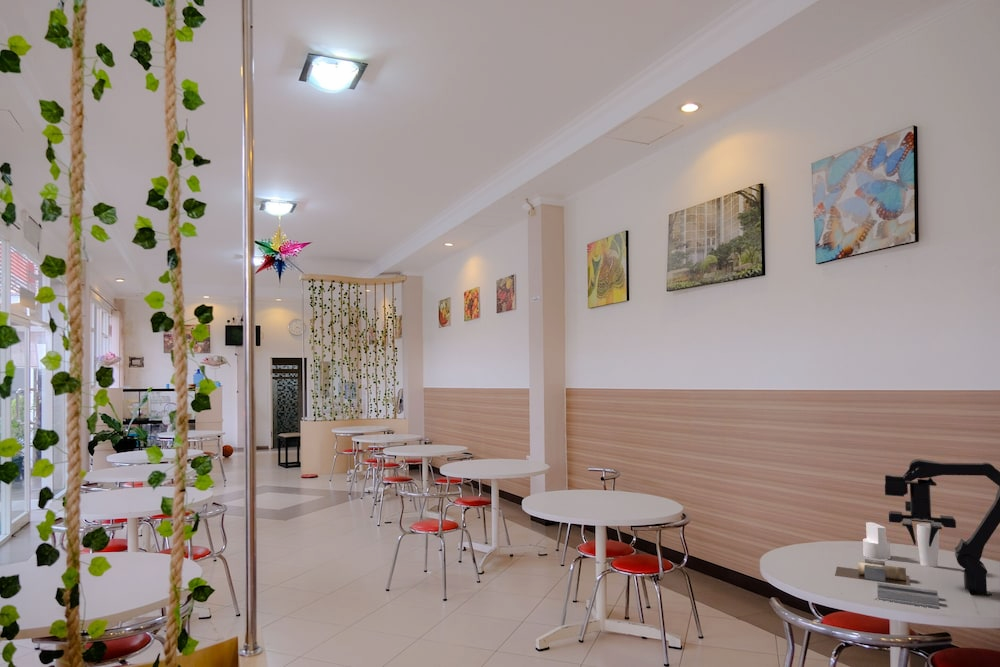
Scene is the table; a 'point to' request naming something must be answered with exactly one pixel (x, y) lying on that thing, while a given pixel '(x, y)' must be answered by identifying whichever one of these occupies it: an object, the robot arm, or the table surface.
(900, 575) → the wooden axle
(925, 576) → the table surface
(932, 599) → the v block
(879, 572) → the brown board with blocks
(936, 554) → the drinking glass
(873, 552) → the white stepped block
